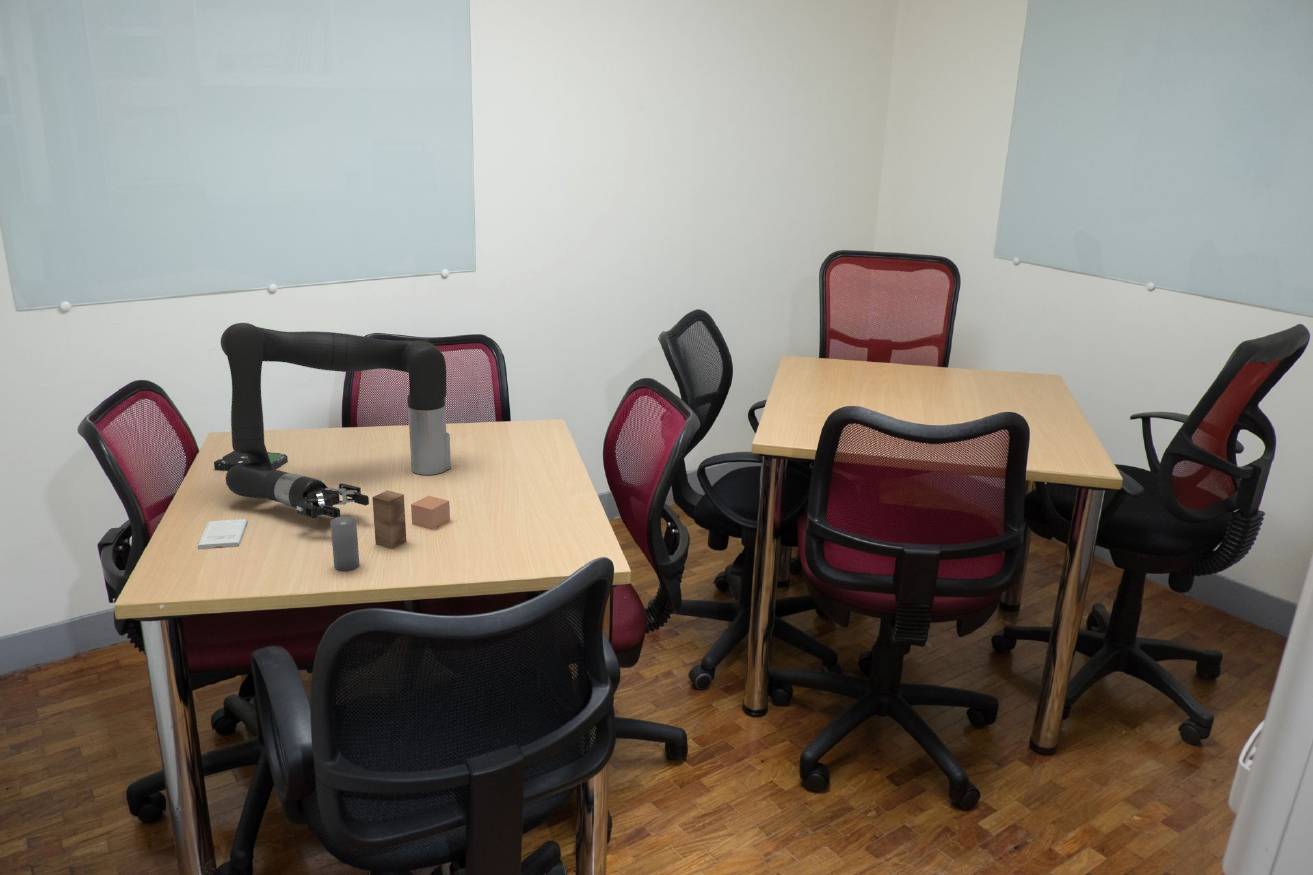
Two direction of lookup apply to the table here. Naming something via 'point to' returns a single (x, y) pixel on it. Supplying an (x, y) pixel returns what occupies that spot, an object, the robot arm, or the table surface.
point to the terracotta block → (430, 512)
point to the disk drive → (240, 458)
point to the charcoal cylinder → (345, 543)
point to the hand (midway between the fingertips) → (353, 507)
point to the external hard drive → (223, 534)
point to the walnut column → (389, 519)
